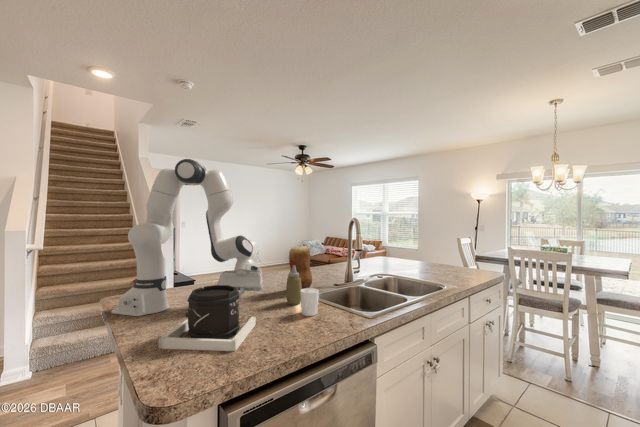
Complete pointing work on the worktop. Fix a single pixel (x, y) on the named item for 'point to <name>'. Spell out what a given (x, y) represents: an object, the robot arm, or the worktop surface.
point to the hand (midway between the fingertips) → (236, 298)
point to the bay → (174, 342)
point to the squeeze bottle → (293, 287)
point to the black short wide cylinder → (213, 312)
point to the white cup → (309, 301)
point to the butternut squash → (301, 264)
